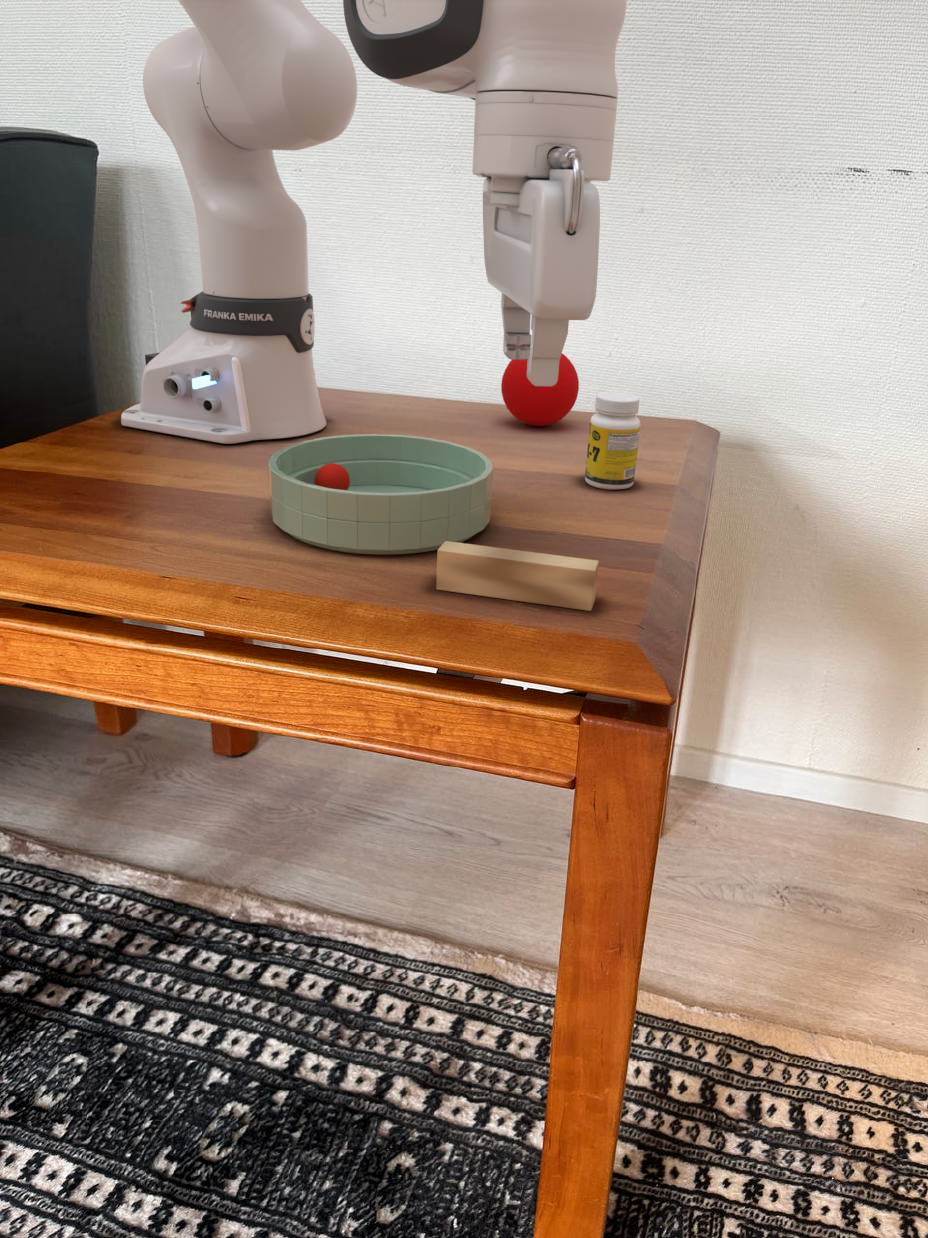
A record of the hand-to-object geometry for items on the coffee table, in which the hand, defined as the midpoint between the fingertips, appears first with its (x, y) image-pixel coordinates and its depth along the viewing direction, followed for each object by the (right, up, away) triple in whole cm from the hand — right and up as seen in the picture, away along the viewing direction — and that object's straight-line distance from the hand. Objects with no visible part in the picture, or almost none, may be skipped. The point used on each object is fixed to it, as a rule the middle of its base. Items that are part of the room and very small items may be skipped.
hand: (528, 370), depth 68 cm
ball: (-16, -5, +17) cm, 24 cm away
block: (-1, -15, +1) cm, 16 cm away
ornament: (+4, +6, +48) cm, 49 cm away
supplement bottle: (+10, -4, +27) cm, 29 cm away
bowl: (-11, -9, +15) cm, 21 cm away
